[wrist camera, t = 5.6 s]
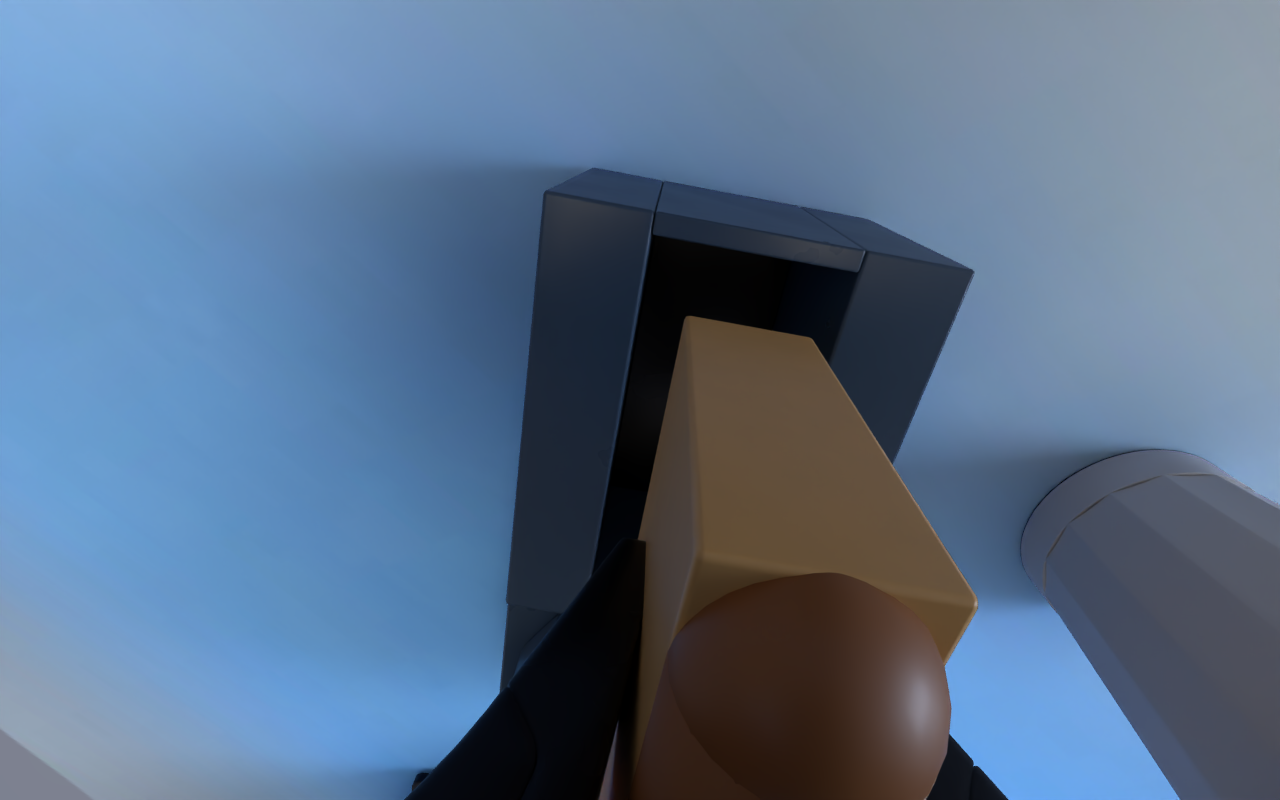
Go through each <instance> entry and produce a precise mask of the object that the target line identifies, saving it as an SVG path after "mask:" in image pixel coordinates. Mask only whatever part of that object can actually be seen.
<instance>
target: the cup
mask: <svg viewBox="0 0 1280 800" xmlns="http://www.w3.org/2000/svg"><path fill="white" fill-rule="evenodd" d="M1021 559H1022V563H1023V566H1024V569H1025V571H1026V573H1027V575H1028V577H1029V578H1030V580H1031V581H1032V582H1033V583H1034V585H1035V586H1036V587H1037V589H1038V590H1039V591H1040V592H1041V594H1042V595H1043V596H1044V598H1045V599H1046V600H1047V601H1048V603H1049V604H1050V605H1051V607H1052V608H1053V609H1054V610H1055V611H1056V612H1057V613H1058V614H1059V616H1060V617H1061V619H1062V620H1063V622H1064V623H1065V625H1066V626H1067V628H1068V630H1069V631H1070V633H1071V634H1072V636H1073V637H1074V639H1075V640H1076V642H1077V643H1078V645H1079V646H1080V648H1081V649H1082V651H1083V652H1084V654H1085V655H1086V657H1087V658H1088V660H1089V661H1090V663H1091V664H1092V666H1093V668H1094V669H1095V671H1096V672H1097V674H1098V675H1099V677H1100V678H1101V680H1102V681H1103V683H1104V684H1105V686H1106V687H1107V689H1108V690H1109V692H1110V693H1111V695H1112V696H1113V698H1114V699H1115V701H1116V702H1117V704H1118V706H1119V707H1120V709H1121V710H1122V712H1123V713H1124V715H1125V716H1126V718H1127V719H1128V721H1129V722H1130V724H1131V725H1132V727H1133V728H1134V730H1135V731H1136V733H1137V734H1138V736H1139V737H1140V739H1141V740H1142V742H1143V744H1144V745H1145V747H1146V748H1147V750H1148V751H1149V753H1150V754H1151V756H1152V757H1153V759H1154V760H1155V762H1156V763H1157V765H1158V766H1159V768H1160V769H1161V771H1162V772H1163V774H1164V775H1165V777H1166V779H1167V780H1168V782H1169V783H1170V785H1171V786H1172V788H1173V789H1174V791H1175V792H1176V794H1177V795H1178V797H1179V798H1180V800H1280V505H1278V504H1276V503H1275V502H1273V501H1271V500H1269V499H1267V498H1265V497H1263V496H1262V495H1260V494H1258V493H1256V492H1255V491H1253V490H1252V489H1251V488H1249V487H1248V486H1246V485H1245V484H1243V483H1241V482H1240V481H1238V480H1237V479H1235V478H1234V477H1232V476H1230V475H1229V474H1227V473H1226V472H1224V471H1222V470H1221V469H1219V468H1218V467H1216V466H1215V465H1213V464H1211V463H1210V462H1208V461H1206V460H1204V459H1202V458H1200V457H1198V456H1195V455H1192V454H1188V453H1184V452H1179V451H1171V450H1146V451H1137V452H1131V453H1126V454H1122V455H1118V456H1115V457H1111V458H1108V459H1105V460H1103V461H1100V462H1098V463H1095V464H1093V465H1091V466H1089V467H1087V468H1085V469H1083V470H1081V471H1079V472H1078V473H1076V474H1074V475H1073V476H1071V477H1069V478H1068V479H1067V480H1065V481H1064V482H1062V483H1061V484H1060V485H1059V486H1057V487H1056V488H1055V489H1054V490H1053V491H1052V492H1050V493H1049V494H1048V495H1047V496H1046V497H1045V499H1044V500H1043V501H1042V502H1041V503H1040V504H1039V506H1038V507H1037V508H1036V509H1035V511H1034V512H1033V514H1032V516H1031V517H1030V519H1029V521H1028V523H1027V525H1026V528H1025V530H1024V533H1023V537H1022V542H1021Z"/></svg>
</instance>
